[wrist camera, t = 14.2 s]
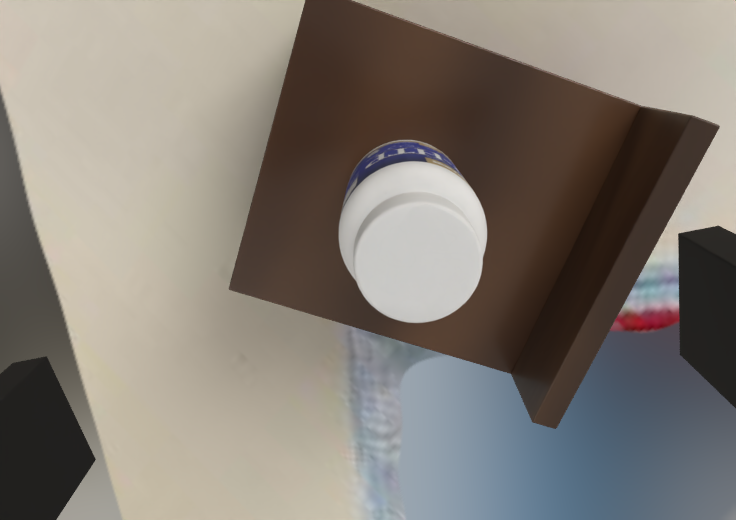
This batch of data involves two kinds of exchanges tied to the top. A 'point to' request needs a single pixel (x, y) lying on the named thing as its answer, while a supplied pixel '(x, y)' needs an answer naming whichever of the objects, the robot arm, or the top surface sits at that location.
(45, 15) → the top surface
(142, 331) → the top surface
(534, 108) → the shelf
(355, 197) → the pill bottle
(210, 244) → the top surface
